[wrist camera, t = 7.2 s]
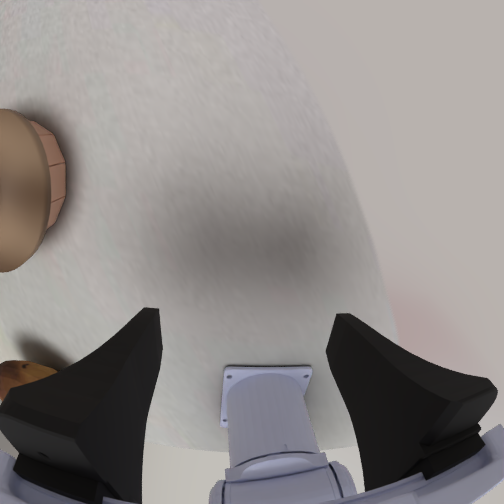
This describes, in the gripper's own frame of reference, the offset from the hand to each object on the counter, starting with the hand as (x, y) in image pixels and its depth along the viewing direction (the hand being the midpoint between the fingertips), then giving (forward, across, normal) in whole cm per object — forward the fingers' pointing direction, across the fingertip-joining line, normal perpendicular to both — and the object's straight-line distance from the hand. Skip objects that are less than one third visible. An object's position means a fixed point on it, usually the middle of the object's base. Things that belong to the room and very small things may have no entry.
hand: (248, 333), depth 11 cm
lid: (+6, +17, -5) cm, 19 cm away
